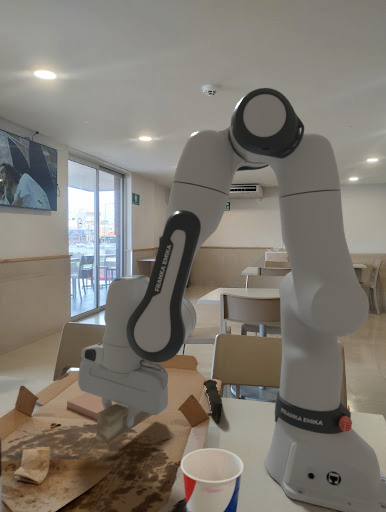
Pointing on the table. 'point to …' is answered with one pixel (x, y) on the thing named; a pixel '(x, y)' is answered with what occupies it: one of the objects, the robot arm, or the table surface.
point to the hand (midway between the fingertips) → (119, 422)
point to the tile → (87, 404)
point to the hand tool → (214, 400)
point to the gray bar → (115, 422)
